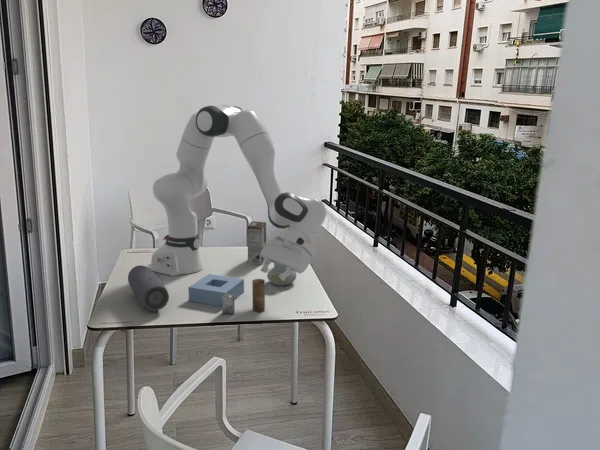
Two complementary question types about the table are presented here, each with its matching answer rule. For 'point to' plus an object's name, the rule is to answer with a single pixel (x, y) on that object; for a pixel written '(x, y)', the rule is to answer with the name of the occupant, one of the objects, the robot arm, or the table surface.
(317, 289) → the table surface
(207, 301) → the collar block
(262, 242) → the coffee box
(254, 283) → the long pin
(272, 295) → the table surface
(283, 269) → the air freshener
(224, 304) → the short pin
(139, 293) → the bluetooth speaker
